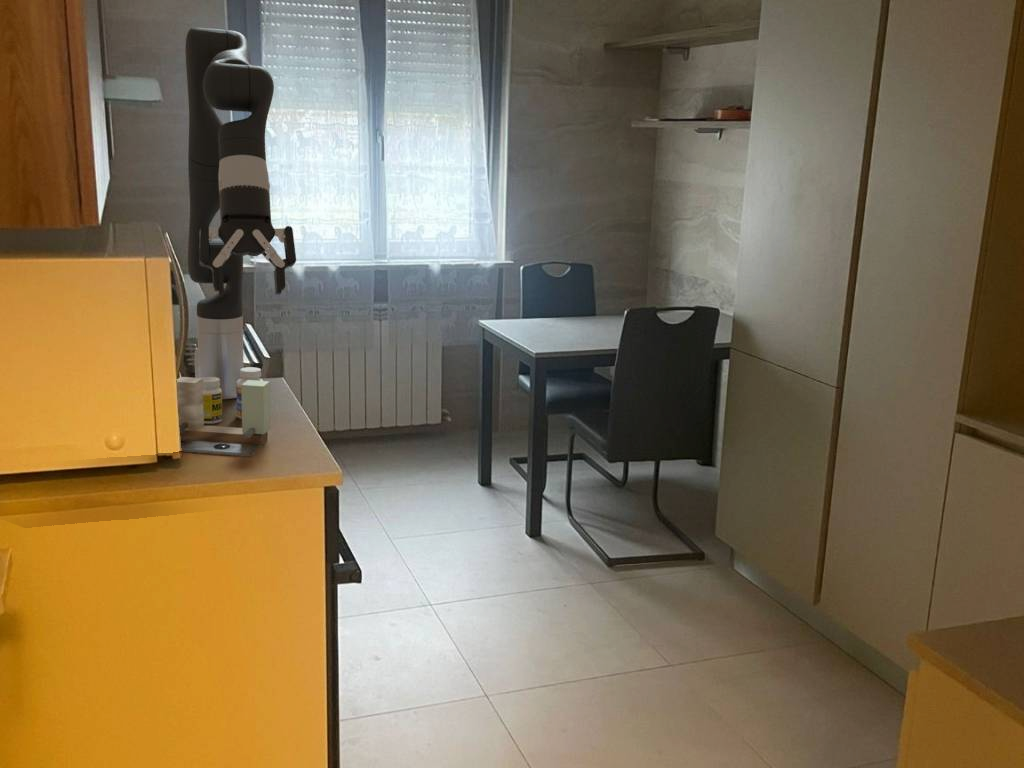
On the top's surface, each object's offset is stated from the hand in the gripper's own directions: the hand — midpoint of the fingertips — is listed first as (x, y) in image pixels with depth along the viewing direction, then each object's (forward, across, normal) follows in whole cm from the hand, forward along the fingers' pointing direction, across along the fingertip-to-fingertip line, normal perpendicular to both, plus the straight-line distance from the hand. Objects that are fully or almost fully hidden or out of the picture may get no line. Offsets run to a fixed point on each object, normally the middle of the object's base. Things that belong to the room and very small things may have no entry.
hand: (249, 293), depth 147 cm
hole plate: (+22, +5, -30) cm, 38 cm away
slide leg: (+20, -3, -30) cm, 36 cm away
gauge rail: (+21, +4, -33) cm, 39 cm away
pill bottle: (+15, -4, -48) cm, 51 cm away
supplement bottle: (+16, +4, -47) cm, 50 cm away
